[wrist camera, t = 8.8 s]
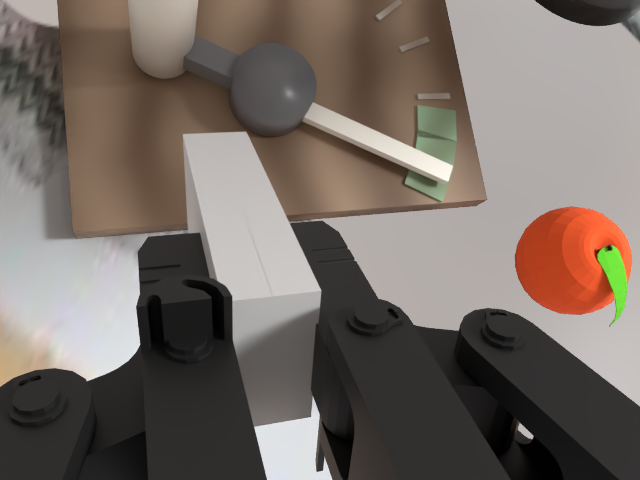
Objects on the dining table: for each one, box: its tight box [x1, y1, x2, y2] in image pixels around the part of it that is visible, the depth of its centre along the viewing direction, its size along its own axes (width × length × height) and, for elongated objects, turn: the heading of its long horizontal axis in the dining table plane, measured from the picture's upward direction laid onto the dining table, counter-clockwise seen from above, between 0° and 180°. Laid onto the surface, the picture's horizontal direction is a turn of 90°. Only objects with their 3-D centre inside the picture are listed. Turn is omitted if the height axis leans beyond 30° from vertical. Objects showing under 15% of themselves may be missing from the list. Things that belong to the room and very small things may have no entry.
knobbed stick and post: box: [128, 0, 453, 185], centre depth 33 cm, size 22×5×11 cm, turn 71°
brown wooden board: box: [57, 0, 487, 238], centre depth 39 cm, size 26×17×2 cm, turn 99°
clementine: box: [515, 207, 632, 326], centre depth 39 cm, size 8×7×7 cm
